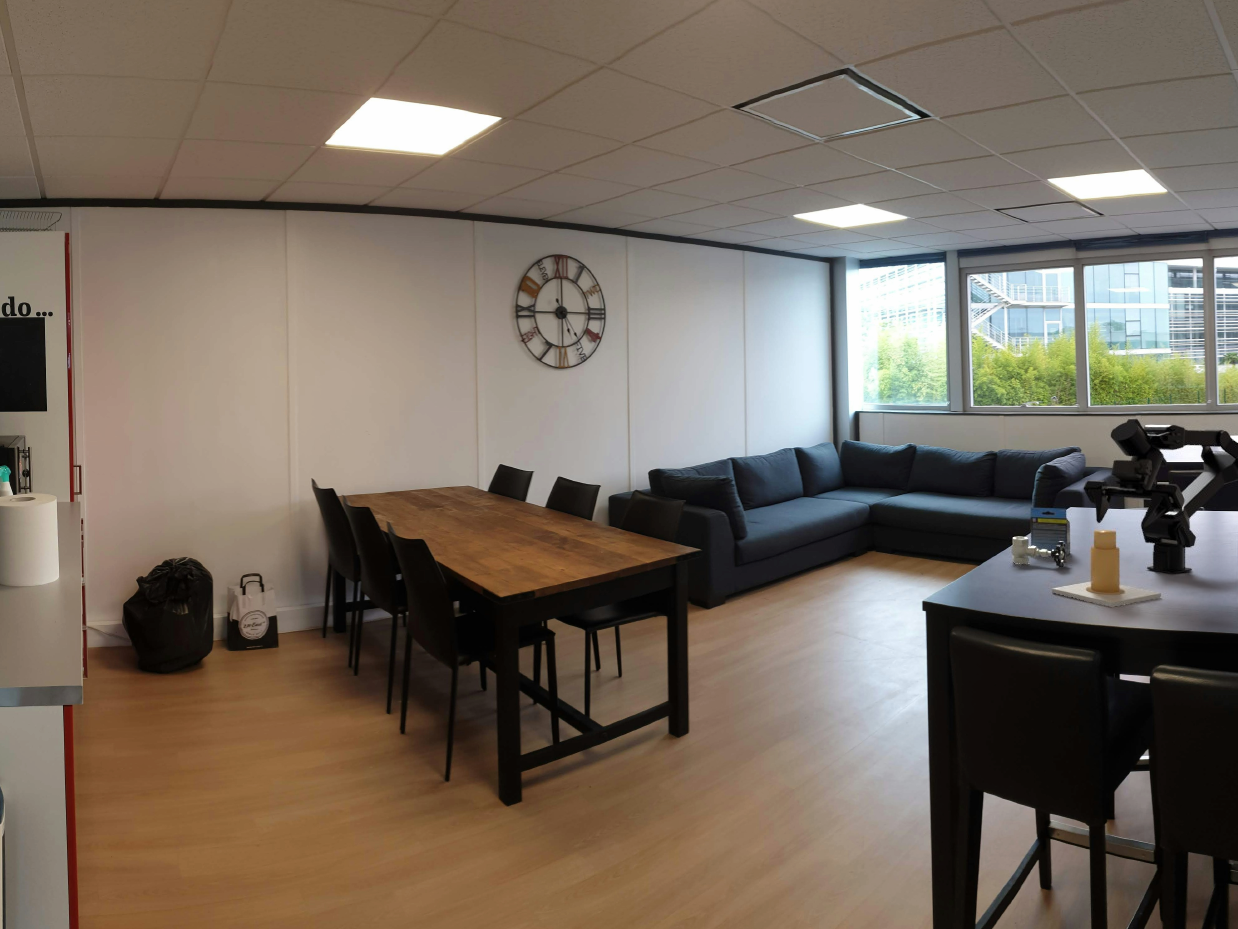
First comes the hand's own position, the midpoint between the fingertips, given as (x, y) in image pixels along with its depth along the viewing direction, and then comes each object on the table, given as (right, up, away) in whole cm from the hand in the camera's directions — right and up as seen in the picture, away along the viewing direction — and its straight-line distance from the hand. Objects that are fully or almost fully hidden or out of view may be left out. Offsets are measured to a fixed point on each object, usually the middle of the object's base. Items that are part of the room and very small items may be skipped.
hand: (1120, 523), depth 176 cm
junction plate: (-8, -15, -7) cm, 18 cm away
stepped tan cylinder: (-8, -13, -7) cm, 17 cm away
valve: (-6, -12, +24) cm, 28 cm away
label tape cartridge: (+5, -11, +37) cm, 39 cm away
